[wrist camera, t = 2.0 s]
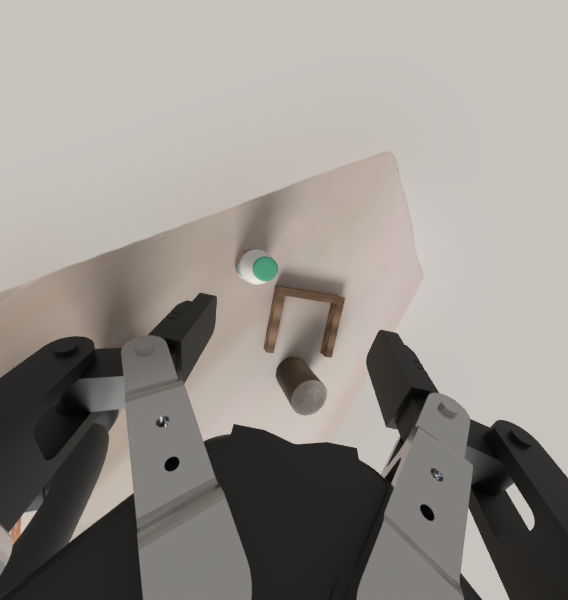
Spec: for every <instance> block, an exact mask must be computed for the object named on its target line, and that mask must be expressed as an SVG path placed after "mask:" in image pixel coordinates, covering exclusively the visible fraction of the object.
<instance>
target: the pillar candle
mask: <svg viewBox="0 0 568 600" xmlns="http://www.w3.org/2000/svg"><path fill="white" fill-rule="evenodd" d="M276 378H277V381H278V383H279V385H280V386H281V388H282V390H283V392H284V394H285V395H286V397H287V399H288V401H289V402H290V404H291V406H292V408H293V410H294V411H295V412H296V413H298V414H300V415H312V414H314V413H316V412H317V411H318V410H319V409H320V408H322V406H323V405H324V403H325V400H326V397H327V389H326V388H325V386H324V385H323V383H322V382H321V381H320V380H319V379H318V378H317V377H316V375H315V374H314V373H313V372H312V371H311V370H310V368H309V367H308V366H307V365H306V364H305V363H304V362H303V361H302V360H301V359H299V358H294V357H292V358H288V359H286V360H284V361H283V362H282V363H281V364H280V365H279V366H278V368H277V372H276Z"/></svg>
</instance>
